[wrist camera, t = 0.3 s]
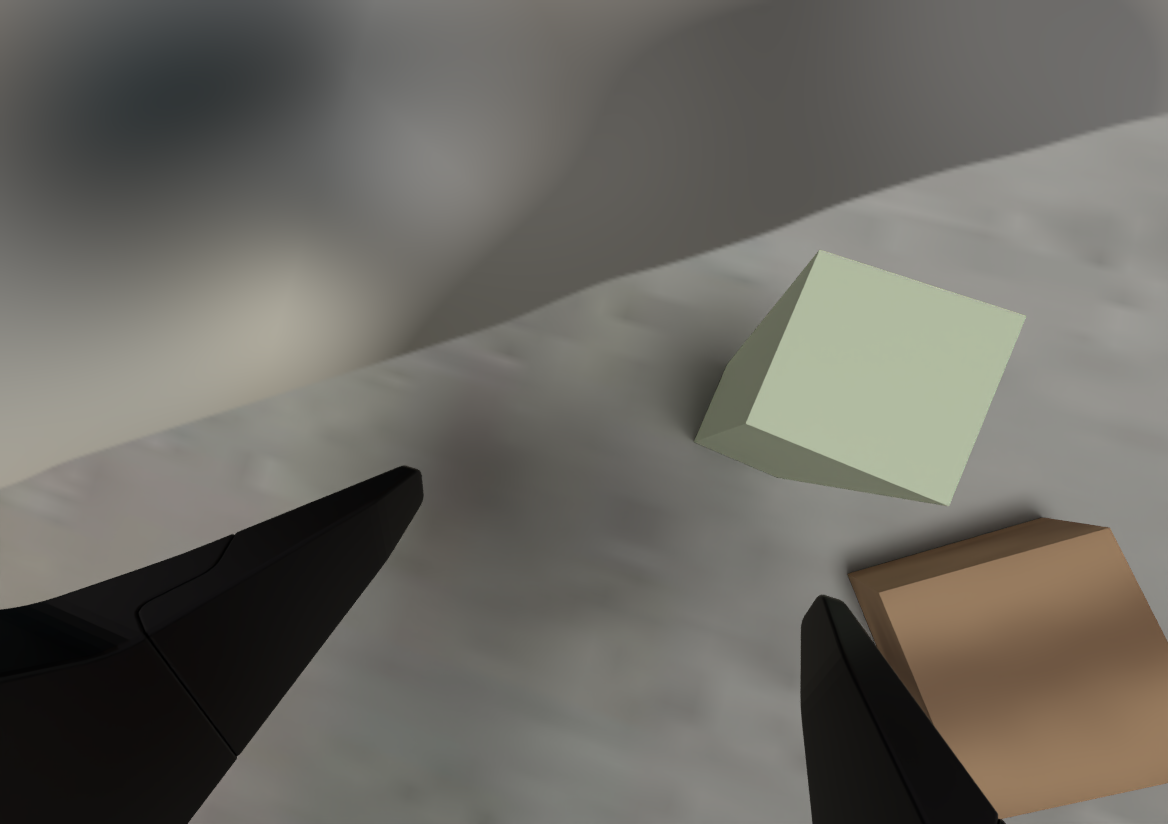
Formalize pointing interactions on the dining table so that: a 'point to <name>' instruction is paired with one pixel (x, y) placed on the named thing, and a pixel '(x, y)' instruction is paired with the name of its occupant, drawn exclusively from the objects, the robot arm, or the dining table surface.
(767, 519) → the dining table surface
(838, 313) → the sage post
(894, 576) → the walnut slab
